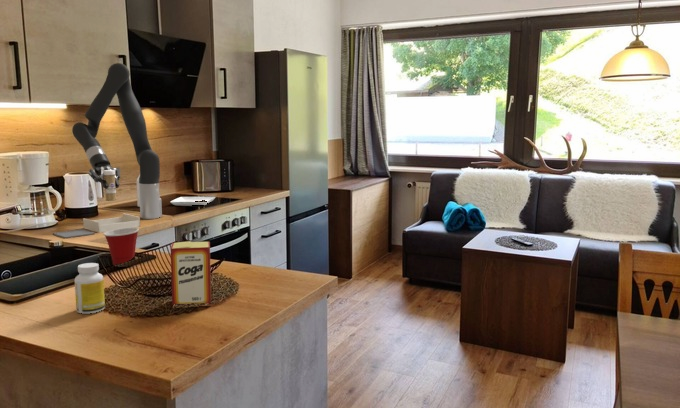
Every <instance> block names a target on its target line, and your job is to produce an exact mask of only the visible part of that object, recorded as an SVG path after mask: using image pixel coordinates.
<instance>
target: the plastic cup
mask: <svg viewBox="0 0 680 408" xmlns="http://www.w3.org/2000/svg"><path fill="white" fill-rule="evenodd" d="M139 230H140V229H139V227H135V228H124V229H116V230H111V231H107V232H103V233H102V234H103V235H102V236H104V237H105V239H106V242H107V245H108V249H109V252H110V256H111V259H112V264H113V266H114V265H116V264H120V263H124V262H127V261H129V260H131V259H132V258H133V257H134V258H135V256H136V249H137V248H136V246H137V239H138V233H139Z"/></svg>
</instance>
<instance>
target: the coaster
mask: <svg viewBox="0 0 680 408" xmlns="http://www.w3.org/2000/svg"><path fill="white" fill-rule="evenodd" d="M52 235H54V236H56V237H59V238H62V237H63V239H65V238H66V239H72V238H71V237H73V238H79V237H85V236H86V237H87V236H92V235H96V232H94V231H91V230H88V229H84V228H82V229H81V228H80V229H79V228H78V229H71V230H65V231H58V232H52Z"/></svg>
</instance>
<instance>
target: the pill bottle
mask: <svg viewBox="0 0 680 408" xmlns="http://www.w3.org/2000/svg"><path fill="white" fill-rule="evenodd" d="M99 266H100V265H99V263H98V262H97V263H96V262H86V263H81V264H78V266H77V272H78V273H79V274H77V275H76V276H75V278H74V292H75V293H74V294H75V307H76V312H77V313H79V314H81V313H82V315H89V314H90V313H92V314H97V313H100V312H102V311H103V310H104V309H105V308H106V303H105V301H106V300H105V285H104V284H105V283H104V276H103V274H102V273H99V270H100V267H99ZM101 310H102V311H101ZM99 311H100V312H99ZM96 312H97V313H96ZM90 315H91V314H90Z"/></svg>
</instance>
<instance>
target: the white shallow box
mask: <svg viewBox="0 0 680 408" xmlns="http://www.w3.org/2000/svg"><path fill="white" fill-rule="evenodd" d="M122 215H123V216H117V217H112V218H101V219H95V220H93V219H89V218H82V220H83V221H82V222H83V224H82V225H83V229H84V230H87V231H90V232H94V233H99V234H100V233H105V232H107V231H111V230H116V229H124V228H140V227H141V216H137V215H133V214H130V213H129V214H128V213H124V212H123V213H122Z"/></svg>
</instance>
